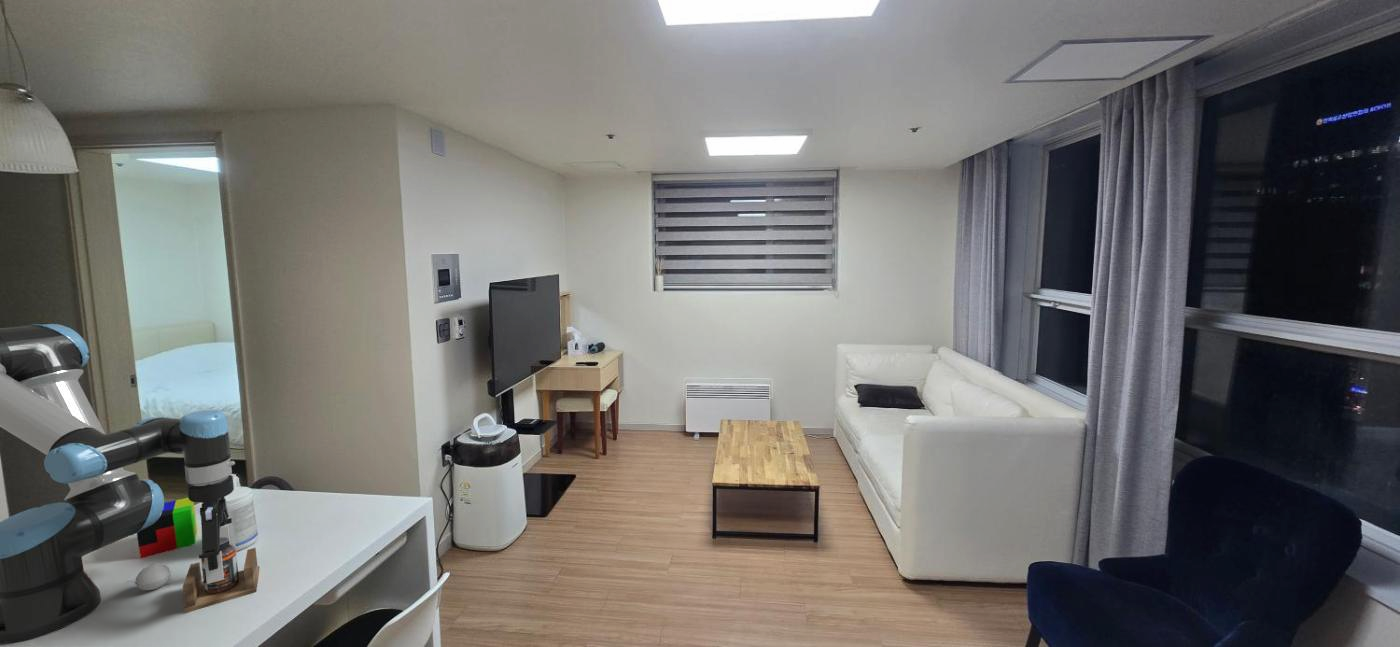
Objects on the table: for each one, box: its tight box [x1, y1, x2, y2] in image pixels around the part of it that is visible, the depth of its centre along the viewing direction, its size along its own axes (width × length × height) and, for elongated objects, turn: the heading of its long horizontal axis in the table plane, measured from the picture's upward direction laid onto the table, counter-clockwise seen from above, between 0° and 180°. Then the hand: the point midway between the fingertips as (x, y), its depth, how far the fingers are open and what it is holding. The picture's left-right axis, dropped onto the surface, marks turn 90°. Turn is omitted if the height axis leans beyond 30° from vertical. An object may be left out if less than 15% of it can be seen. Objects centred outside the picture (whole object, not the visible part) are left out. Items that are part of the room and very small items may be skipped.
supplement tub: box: [225, 486, 259, 552], centre depth 137 cm, size 10×10×15 cm
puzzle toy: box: [136, 497, 198, 559], centre depth 138 cm, size 10×10×10 cm
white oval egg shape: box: [127, 563, 171, 591], centre depth 120 cm, size 8×6×6 cm
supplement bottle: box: [200, 537, 239, 594], centre depth 119 cm, size 6×6×11 cm
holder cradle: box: [182, 547, 261, 614], centre depth 120 cm, size 12×11×6 cm
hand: (219, 566), depth 119 cm, fingers open, 13 cm apart
